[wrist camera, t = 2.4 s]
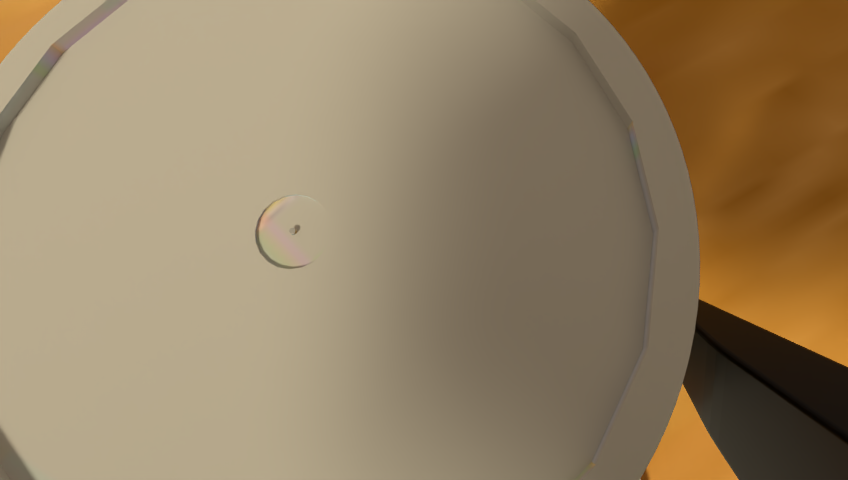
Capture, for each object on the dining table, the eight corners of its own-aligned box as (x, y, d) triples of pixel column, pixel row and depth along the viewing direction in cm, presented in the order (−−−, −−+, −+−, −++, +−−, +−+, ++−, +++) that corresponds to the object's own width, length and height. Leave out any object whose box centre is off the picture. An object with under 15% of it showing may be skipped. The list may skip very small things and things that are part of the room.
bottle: (304, 275, 20) (-160, -10, 5) (491, 218, 20) (567, -235, 5) (353, 477, 18) (-140, 928, 3) (559, 414, 18) (972, 589, 3)
